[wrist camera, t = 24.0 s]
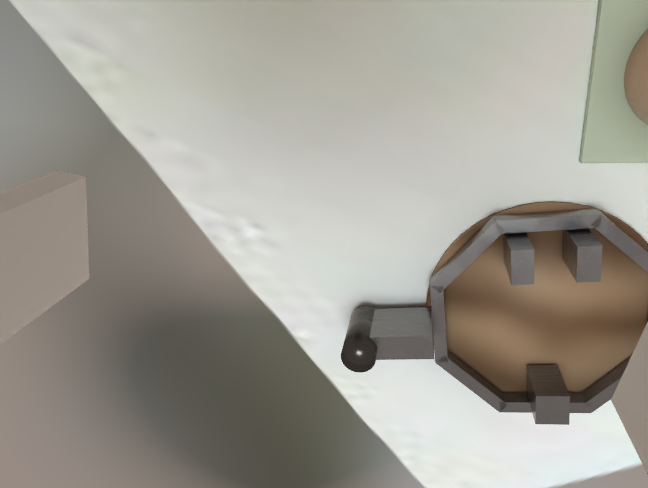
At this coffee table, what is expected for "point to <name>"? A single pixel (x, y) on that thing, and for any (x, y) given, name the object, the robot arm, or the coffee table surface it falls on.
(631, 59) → the terracotta mug
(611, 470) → the coffee table surface
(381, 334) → the collar
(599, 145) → the mat
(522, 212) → the base plate
